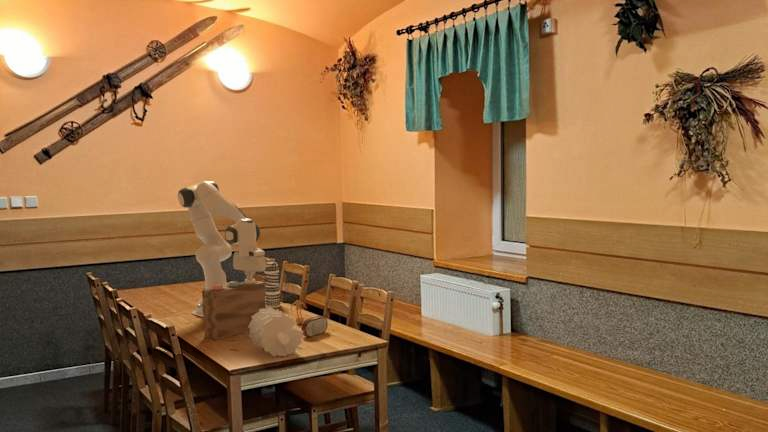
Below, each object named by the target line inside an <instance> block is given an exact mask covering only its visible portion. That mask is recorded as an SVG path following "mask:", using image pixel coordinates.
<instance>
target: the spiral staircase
mask: <svg viewBox="0 0 768 432" xmlns="http://www.w3.org/2000/svg"><path fill="white" fill-rule="evenodd" d="M251 317H252V321H251V322H250V324H249V326H248V328H250V331H249V338H250V339H251V340H252V343H253V344H254V343H256V345H257V347H258V348H263V350H264V352H265V353H266V352H267V353H269V354H270V355H271V356H273V357H274V358H275V357H277V356H279V357H284V358H285V357H287V355H290V354H292V353H295V352H297V348H299V346H300V345H301V344H302V343H303V341H302V339H303V336H304V335H303V331H302V330H300V329H298V328H295V326H296V325H297V323H296V321H295V320H294V318H293V316H290V315H289V314H285V313H283V312H282V310H279V308H276V309H275V308H271V307H268V308H266V309H259V312H258V313H256V314H255V315H253V316H251Z"/></svg>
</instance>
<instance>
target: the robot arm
mask: <svg viewBox="0 0 768 432" xmlns="http://www.w3.org/2000/svg"><path fill="white" fill-rule="evenodd" d="M177 200H178V202H179V204H180V206H181V207H182V208H187V209H188V215H189V219H190V222H191V225H192V227H193V230H194V232H195V236H196V237H197V238H198V239H200V240H201V241H202V242H203V245H202V246H200V247H199V248H198V249H196V251H195V260H196V261H197V263H199V264H200V266H201V267H202V271H203V275H204V282H205V284H204V286H205V289H204V290H208V289H212V286H213V285H223V286H227V273H226V272H225V271H224V270H223V268H222V265H221V262H223V261H226V260H227V259H228V258H230V257H231V256H232V252H233V249H232V246H231V245H238V250H236V251H234V253H233V258H232V260H233V261H232V268H233V269H234V271H235V270H238V271H243V272H244V275H245V278H246V279H247V280H253V279H254V274H255V272H258V273H259V272H265V269H266V263H267V262H266V258H265V255H266V253H265V252H266V251H265V250H263V249H261V248H259V247H258V243H257V241H258V240H259V238H260V236H261V230H260V228H259V226H258V225H257V223H255V221H254V219H251V218H248V217H247V215H246V214H244V212H243V211H242V210H241V209H240V208H239V207H238V206H237V205H236V204H234V203H233V202H231V201H230V200H228V199H227V198H226V197H225V196H224V195H223V194H222V193H221V192H220V188H219V186H218V184H217V182H215V181H213V180H211V181H210V180H209V181H207V180H205V181H202V182H198V183H195V184H192V185H190V186H187V187H183V188H180V190H179V191H178V192H177ZM213 216H219V217H224V218H225V217H226V218H229V219H231V220H233V222H235V223H234V224H232V225H229V226H227V227H226V228H225V230H224V237H222V235H221V234H220V232H219V231H218V229H217V226H216V224H215V221H214V219H213ZM191 314H192V315H193V316H194V315H195V316H198V317H201V318H204V317H203V298H202V297H201V298H200V299H199V300H198V301H197V302H196V304H195V310H193V311H191Z"/></svg>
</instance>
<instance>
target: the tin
mask: <svg viewBox="0 0 768 432" xmlns="http://www.w3.org/2000/svg"><path fill="white" fill-rule="evenodd" d="M327 329H328V320H327V318H326V316H325V317H324V316H322V315H316V316H313V317H309V318H307V319H304V322H303V323H302V324H301V331H303V335H302V336H304V337H307V338H312V337H315V336H319V335H322V334H324V333H326V331H327Z"/></svg>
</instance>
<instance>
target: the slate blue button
mask: <svg viewBox="0 0 768 432" xmlns="http://www.w3.org/2000/svg"><path fill="white" fill-rule="evenodd" d="M239 283H240V281H237V280H234V281H229V282H228V285H229V287H230V288H235V287H239Z"/></svg>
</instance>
